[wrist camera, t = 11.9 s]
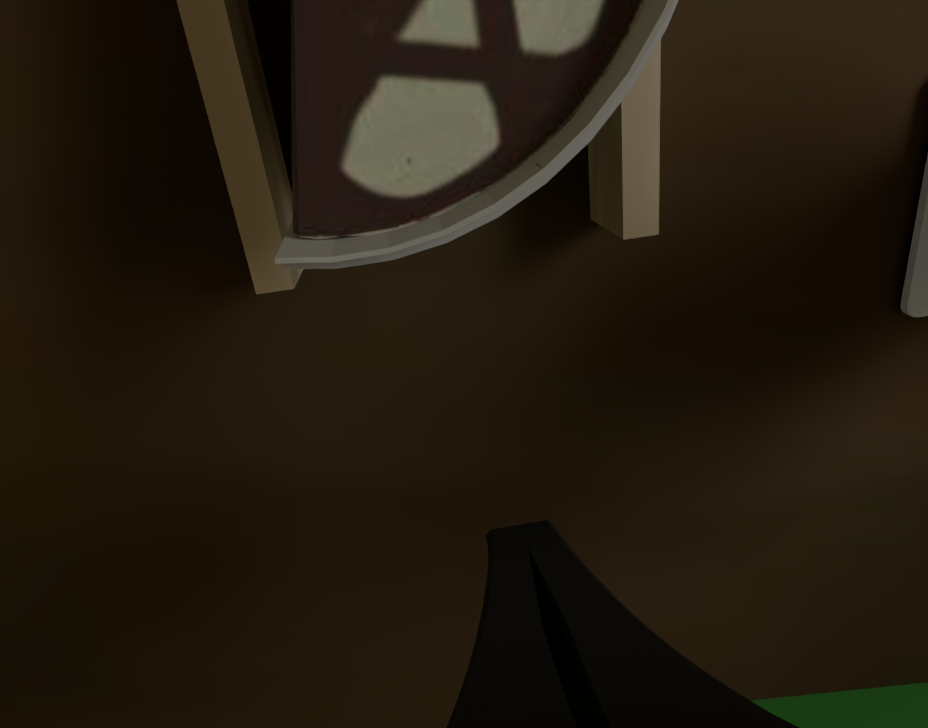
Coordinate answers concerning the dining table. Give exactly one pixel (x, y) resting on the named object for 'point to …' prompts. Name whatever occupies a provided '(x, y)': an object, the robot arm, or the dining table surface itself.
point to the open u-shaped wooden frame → (264, 172)
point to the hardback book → (855, 708)
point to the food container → (444, 113)
